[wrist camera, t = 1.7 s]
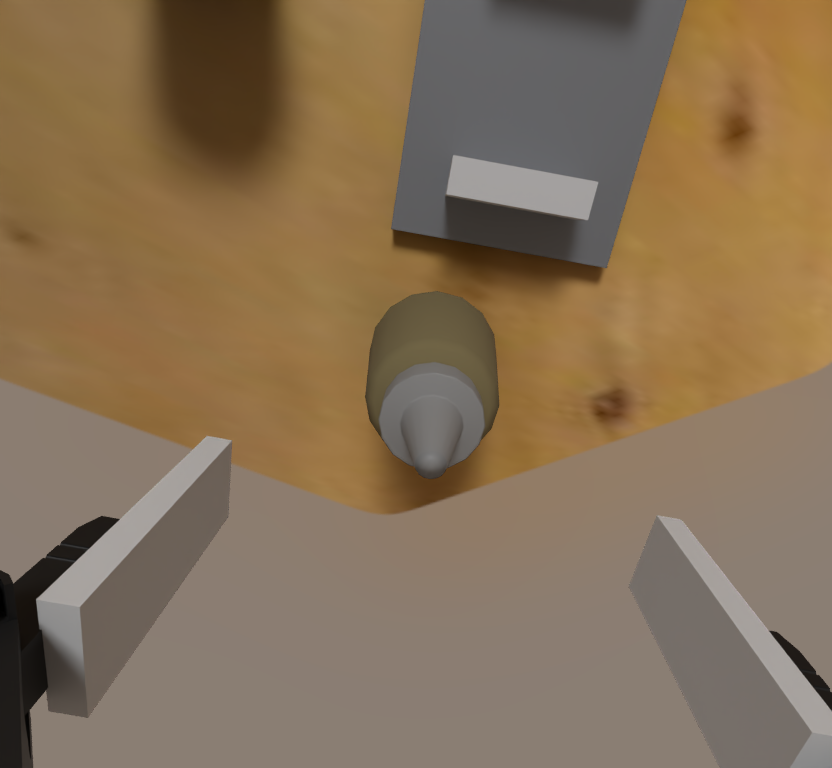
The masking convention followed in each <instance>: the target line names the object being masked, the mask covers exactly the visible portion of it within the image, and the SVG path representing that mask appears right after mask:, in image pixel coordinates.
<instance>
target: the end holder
mask: <svg viewBox="0 0 832 768" xmlns="http://www.w3.org/2000/svg"><path fill="white" fill-rule="evenodd" d="M685 3H686V0H425V4H424V11H423V17H422V24H421V31H420V38H419V44H418V51H417V58H416V65H415V72H414V78H413V85H412V92H411V99H410V105H409V112H408V119H407V126H406V132H405V139H404V146H403V153H402V160H401V166H400V173H399V180H398V187H397V193H396V200H395V207H394V214H393V220H392V227H391V229H395V230H400V231H406V232H411V233H417V234H422V235H428V236H433V237H439V238H444V239H449V240H455V241H460V242H466V243H471V244H477V245H482V246H488V247H493V248H499V249H504V250H510V251H515V252H521V253H526V254H532V255H537V256H543V257H548V258H554V259H559V260H565V261H570V262H576V263H581V264H587V265H592V266H598V267H603V268H607V265H608V261H609V258H610V255H611V251H612V248H613V245H614V241H615V238H616V235H617V231H618V228H619V225H620V221H621V218H622V214H623V211H624V208H625V204H626V201H627V198H628V194H629V191H630V188H631V184H632V181H633V178H634V174H635V171H636V168H637V164H638V161H639V158H640V154H641V151H642V147H643V144H644V141H645V137H646V134H647V131H648V127H649V124H650V121H651V117H652V114H653V111H654V107H655V104H656V101H657V97H658V94H659V90H660V87H661V84H662V80H663V77H664V74H665V70H666V67H667V64H668V60H669V57H670V54H671V50H672V47H673V44H674V40H675V37H676V34H677V30H678V27H679V23H680V20H681V17H682V13H683V10H684V7H685Z"/></svg>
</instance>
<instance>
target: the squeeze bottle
mask: <svg viewBox="0 0 832 768" xmlns="http://www.w3.org/2000/svg"><path fill="white" fill-rule="evenodd" d="M365 398H366V403H367V408H368V414H369V419H370V422H371V423H372V425H373V426H374V428H375V429H376V431H377V432H378V434H379V435H380V436H381V438H382V439H383V441H384V442H385V443H386V445H387V446H388V448H389V449H390V451H391V452H392V454H393V455H395V456H396V457H398V458H399V459H401V460H402V461H404V462H405V463H407V464H408V465H411V466H415V469H416V470H417V472H418V473H419V474H420V475H421V476H422V477H424V478H428V479H434V478H438V477H440V476H442V474H443V473H444V472H445V471H446V468H449V467H451V466H453V465H455V464H457V463H459V462H461V461H463V460H465V459H466V458H467V457H468V456H469V455H470V454H471V453H472V452H473V451H474V450H475V448H476V447H477V446H478V445H479V443H480V441H481V440H482V438H483V437H484V436H485V435H486V434H487V433H488V432H489V431H490V430H491V428H492V425H493V422H494V419H495V417H496V414H497V411H498V408H499V393H498V376H497V360H496V349H495V338H494V334H493V332H492V330H491V328H490V326H489V324H488V323H487V321H486V319H485V317H484V315H483V314H482V313H481V312H480V311H479V310H477V309H476V308H475V307H474V306H472V305H471V304H470V303H468V302H467V301H466V300H464V299H463V298H461V297H457V296H454V295H450V294H446V293H442V292H438V291H435V292H428V293H421V294H414V295H411V296H409V297H407V298H405V299H404V300H402V301H400V302H399V303H397V304H395V305H394V306H392V307H390V308H389V310H388V311H387V312H386V314H385V315H384V316H383V318H382V319H381V320H380V322H379V323H378V325H377V326H376V327H375V331H374V335H373V340H372V344H371V348H370V355H369V365H368V375H367V385H366V395H365Z"/></svg>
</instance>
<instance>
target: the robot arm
mask: <svg viewBox="0 0 832 768" xmlns="http://www.w3.org/2000/svg"><path fill="white" fill-rule="evenodd" d="M231 452H232V440H227V439H221V438H215V437H210V436H207V437H205V438H204V439H203V440H202V441H201V442H200V443H199V444H198V445H197V446H196V447H195V448H194V449H193V450H192V451H191V452H190V453H189V454H188V455H187V456H186V457H185V458H184V459H183V460H182V461H180V462H179V463H178V464H177V465H176V466H175V467H174V468H173V469H172V470H171V471H170V472H169V473H168V474H167V475H166V476H165V477H164V478H163V479H162V480H161V481H160V482H158V483H157V484H156V485H155V486H154V487H153V488H152V489H151V490H150V491H149V492H148V493H147V494H146V495H145V496H144V497H143V498H142V499H141V500H140V501H139V502H138V503H137V504H135V505H134V506H133V507H132V508H131V509H130V510H129V511H128V512H127V513H126V514H125V515H124V516H123V517H122V518H121V519H116V518H110V517H104V516H101V517H98V518H97V519H95V520H93V521H90V522H88V523H86V524H84V525H82V526H80V527H78V528H77V529H76V530H75V531H74V532H73V533H71V534H70V535H69V536H68V537H67V538H66V539H65V540H63V541H62V542H61V544H60V546H59V545H58V546H56V547H55V548H54V549H53V550H52V551H51V552H49V553H48V554H47V556H46V558H43V559H41V560H40V561H39V562H38V563H37V564H36V565H35V566H33V567H32V568H31V569H30V570H29V571H28V572H26V573H25V574H24V575H23V576H22V577H21V578H19V579H18V580H17V581H16V582H15V583H14V584H13V582H12V580H11V578H10V575H9V574H7V573H5V572H3V571H1V570H0V768H33V755H32V735H31V717H30V709H31V708H32V707H33V705H34V704H35V703H36V702H37V700H38V699H39V698H40V697H41V696H42V694H43V693H44V692H45V691H46V692H47V701H48V710H49V711H51V712H57V713H63V714H69V715H75V716H81V717H86V718H88V717H89V716H90V714H91V713H92V711H93V710H94V708H95V707H96V706H97V704H98V703H99V701H100V700H101V698H102V697H103V696H104V694H105V693H106V691H107V690H108V688H109V687H110V686H111V684H112V683H113V681H114V680H115V678H116V677H117V675H118V674H119V673H120V671H121V670H122V668H123V667H124V665H125V664H126V663H127V661H128V660H129V658H130V657H131V655H132V654H133V653H134V651H135V650H136V648H137V647H138V645H139V644H140V643H141V641H142V640H143V638H144V637H145V635H146V634H147V632H148V631H149V630H150V628H151V627H152V625H153V624H154V623H155V621H156V619H157V618H158V617H159V615H160V614H161V612H162V611H163V609H164V608H165V607H166V605H167V604H168V602H169V601H170V599H171V598H172V597H173V595H174V594H175V592H176V591H177V590H178V588H179V587H180V585H181V584H182V582H183V581H184V580H185V578H186V577H187V575H188V574H189V572H190V571H191V569H192V567H193V566H194V565H195V564H196V562H197V561H198V559H199V558H200V557H201V555H202V554H203V552H204V551H205V549H206V548H207V547H208V545H209V544H210V542H211V541H212V539H213V538H214V537H215V535H216V534H217V532H218V531H219V529H220V528H221V526H222V525H223V524H224V522H225V521H226V519H227V518H228V510H229V491H230V471H231ZM629 588H630V590H631V592H632V594H633V596H634V598H635V600H636V602H637V604H638V606H639V608H640V610H641V612H642V614H643V616H644V618H645V620H646V622H647V624H648V626H649V628H650V630H651V632H652V634H653V636H654V638H655V640H656V642H657V644H658V646H659V648H660V650H661V652H662V654H663V656H664V658H665V660H666V662H667V664H668V666H669V668H670V670H671V672H672V674H673V676H674V678H675V680H676V682H677V684H678V686H679V688H680V690H681V692H682V694H683V696H684V698H685V700H686V702H687V704H688V706H689V708H690V710H691V711H692V714H693V716H694V718H695V720H696V722H697V724H698V726H699V728H700V730H701V731H702V734H703V736H704V738H705V740H706V741H707V743H708V745H709V748H710V749H711V751H712V753H713V755H714V757H715V759H716V761H717V763H718V765H719V767H720V768H832V692H830V688H829V687H828V685H827V684H826V683H825V682H824V680H823V679H822V678H821V677H820V676H819V675H816V671H815V669H814V668H813V667H812V666H811V665H810V663H809V662H808V661H807V660H806V659H805V657H804V656H803V655H802V654H801V653H800V651H799V650H797V649H796V648H795V647H794V646H793V645H792V644H790V643H789V642H788V641H787V640H786V639H784V638H783V637H782V636H781V635H780V634H779V633H777V632H774V631H769V630H768V629H767V628H766V627H765V626H764V624H763V623H762V622H761V620H760V619H759V618H758V617H757V616H756V614H755V613H754V612H753V610H752V609H751V608H750V606H749V605H748V604H747V603H746V601H745V600H744V599H743V597H742V596H741V595H740V594H739V593H738V591H737V590H736V589H735V587H734V586H733V585H732V584H731V582H730V581H729V580H728V578H727V577H726V576H725V575H724V573H723V572H722V571H721V569H720V568H719V567H718V566H717V564H716V563H715V562H714V561H713V559H712V558H711V557H710V555H709V554H708V553H707V552H706V550H705V549H704V548H703V547H702V546H701V544H700V543H699V541H698V540H697V539H696V538H695V536H694V535H693V534H692V533H691V531H690V530H689V529H688V528H687V526H686V525H685V524H684V522H683V521H682V520H680V519H675V518H669V517H663V516H658V515H657V516H656V519H655V521H654V524H653V527H652V529H651V531H650V534H649V536H648V539H647V542H646V544H645V547H644V549H643V552H642V554H641V557H640V559H639V562H638V564H637V567H636V569H635V572H634V574H633V577H632V579H631V582H630V584H629Z"/></svg>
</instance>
